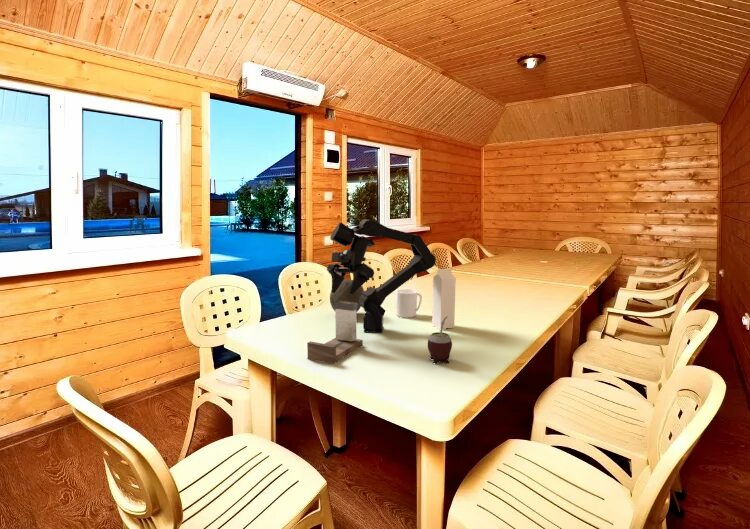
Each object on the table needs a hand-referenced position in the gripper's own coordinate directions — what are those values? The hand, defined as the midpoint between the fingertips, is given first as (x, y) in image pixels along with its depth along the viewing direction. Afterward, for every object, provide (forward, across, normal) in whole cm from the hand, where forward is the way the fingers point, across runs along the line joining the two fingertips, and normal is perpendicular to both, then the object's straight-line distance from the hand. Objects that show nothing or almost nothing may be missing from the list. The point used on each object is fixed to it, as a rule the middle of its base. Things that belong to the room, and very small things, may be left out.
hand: (341, 293), depth 147 cm
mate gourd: (+13, +35, +16) cm, 41 cm away
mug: (-8, -5, +41) cm, 42 cm away
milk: (-4, +14, +40) cm, 42 cm away
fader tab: (+14, +6, +4) cm, 16 cm away
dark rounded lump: (0, -23, +26) cm, 35 cm away
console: (+19, +7, 0) cm, 21 cm away
